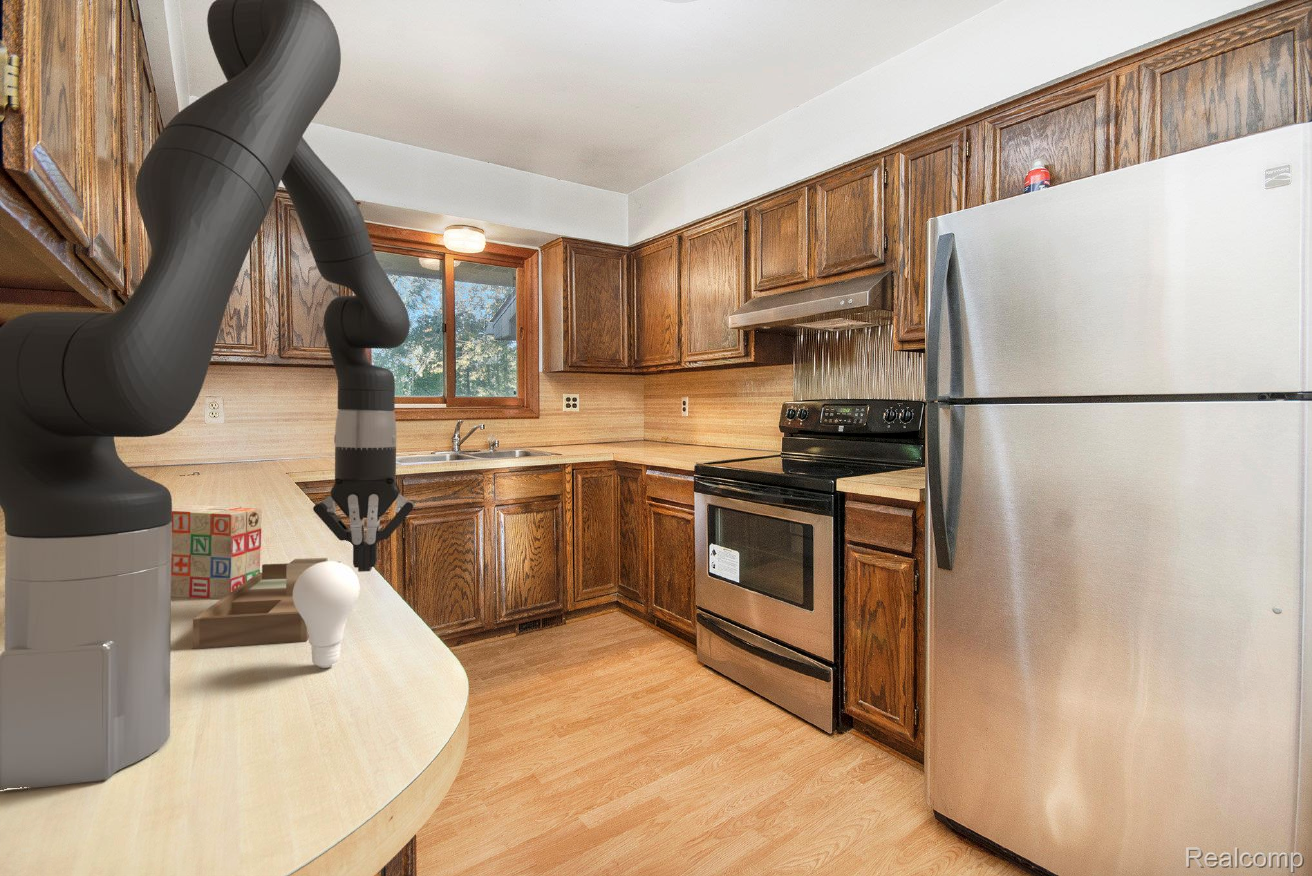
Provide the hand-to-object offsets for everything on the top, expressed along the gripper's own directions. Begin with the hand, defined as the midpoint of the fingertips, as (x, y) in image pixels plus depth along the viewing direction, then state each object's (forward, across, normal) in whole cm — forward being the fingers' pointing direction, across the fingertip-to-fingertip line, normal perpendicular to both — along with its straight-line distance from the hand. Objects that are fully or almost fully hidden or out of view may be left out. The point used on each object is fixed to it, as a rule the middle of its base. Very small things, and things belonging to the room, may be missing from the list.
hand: (365, 570), depth 84 cm
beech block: (+3, +7, 0) cm, 8 cm away
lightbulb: (+5, 0, +21) cm, 22 cm away
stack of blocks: (+6, +27, -14) cm, 31 cm away
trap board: (+5, +10, +2) cm, 11 cm away
